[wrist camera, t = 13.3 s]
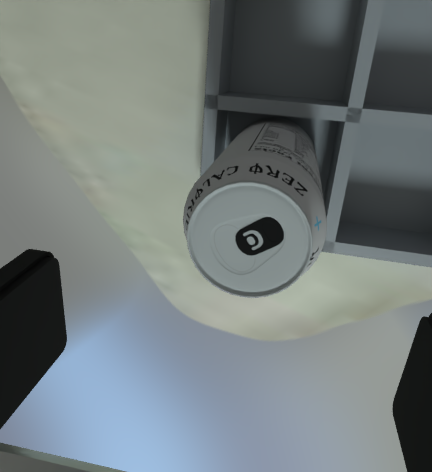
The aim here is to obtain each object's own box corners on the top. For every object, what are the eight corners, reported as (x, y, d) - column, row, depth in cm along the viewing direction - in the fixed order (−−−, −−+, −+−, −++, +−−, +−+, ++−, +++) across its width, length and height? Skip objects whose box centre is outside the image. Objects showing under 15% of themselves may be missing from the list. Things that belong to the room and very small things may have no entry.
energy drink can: (215, 143, 30) (142, 211, 16) (291, 98, 27) (281, 133, 14) (256, 213, 31) (221, 330, 17) (331, 176, 29) (357, 276, 15)
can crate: (228, -53, 25) (214, -75, 21) (539, -42, 23) (590, -65, 19) (210, 212, 32) (197, 233, 28) (445, 243, 30) (468, 272, 26)
